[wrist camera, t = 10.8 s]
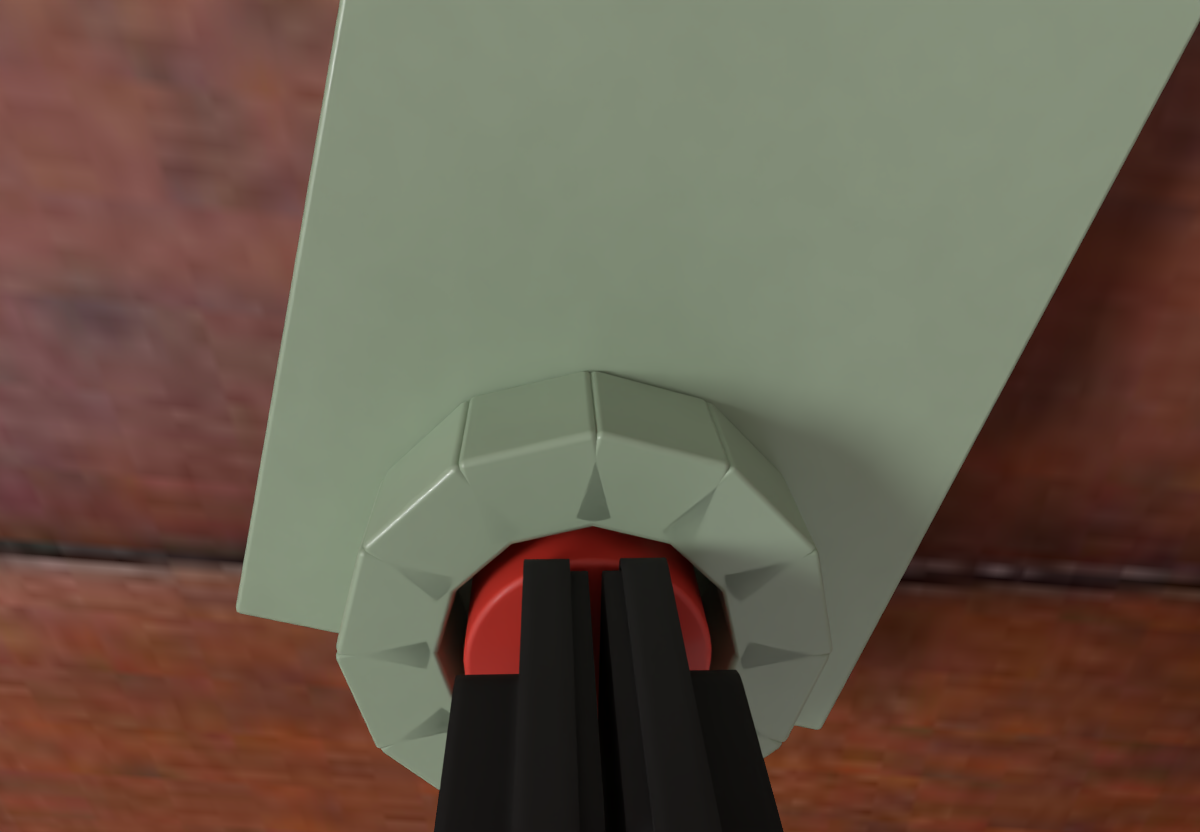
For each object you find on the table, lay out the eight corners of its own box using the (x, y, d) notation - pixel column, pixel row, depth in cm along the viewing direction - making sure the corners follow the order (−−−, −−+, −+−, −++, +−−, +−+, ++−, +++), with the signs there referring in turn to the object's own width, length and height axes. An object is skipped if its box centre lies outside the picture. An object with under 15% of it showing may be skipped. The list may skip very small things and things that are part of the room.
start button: (651, 681, 13) (665, 776, 12) (450, 640, 13) (437, 733, 11) (722, 513, 12) (749, 593, 11) (504, 460, 12) (498, 536, 10)
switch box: (768, 680, 17) (829, 874, 13) (266, 576, 15) (179, 762, 12) (1345, -497, 10) (1800, -765, 6) (541, -907, 8) (538, -1580, 5)
